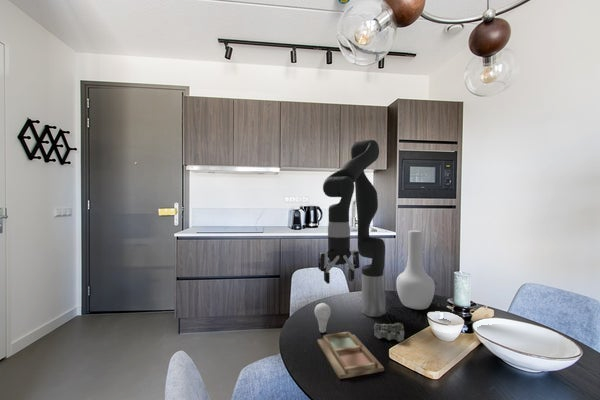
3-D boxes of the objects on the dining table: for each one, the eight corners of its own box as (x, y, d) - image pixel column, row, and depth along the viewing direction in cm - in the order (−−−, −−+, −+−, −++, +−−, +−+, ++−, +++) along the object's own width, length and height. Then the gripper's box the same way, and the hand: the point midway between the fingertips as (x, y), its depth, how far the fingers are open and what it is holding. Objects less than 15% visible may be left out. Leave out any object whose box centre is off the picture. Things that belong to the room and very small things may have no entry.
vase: (398, 310, 122) (398, 232, 122) (394, 296, 139) (394, 228, 138) (439, 313, 119) (439, 233, 118) (429, 299, 135) (429, 229, 134)
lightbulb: (330, 337, 99) (329, 307, 99) (313, 335, 100) (313, 306, 100) (331, 329, 105) (331, 301, 105) (315, 328, 106) (315, 300, 106)
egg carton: (404, 334, 102) (404, 323, 102) (404, 344, 95) (404, 332, 95) (374, 329, 106) (374, 318, 106) (372, 338, 99) (372, 327, 99)
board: (354, 337, 99) (353, 330, 99) (383, 371, 80) (383, 362, 80) (317, 342, 96) (317, 335, 96) (339, 379, 76) (339, 370, 76)
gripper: (353, 232, 99) (353, 277, 99) (315, 234, 95) (316, 280, 95) (362, 235, 91) (363, 283, 92) (323, 237, 88) (323, 287, 88)
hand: (339, 281), depth 94 cm, fingers open, 8 cm apart
